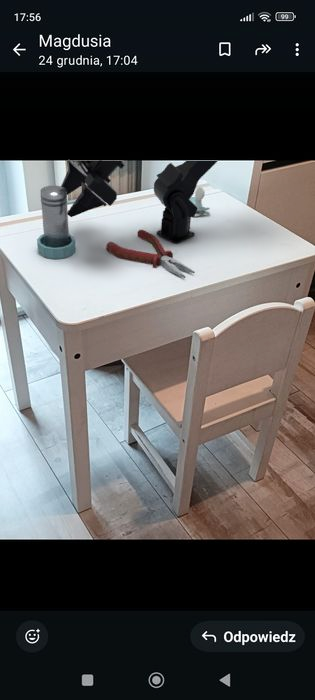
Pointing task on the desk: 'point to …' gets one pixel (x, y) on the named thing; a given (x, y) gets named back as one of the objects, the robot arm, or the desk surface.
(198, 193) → the pacifier
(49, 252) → the ring collar
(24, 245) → the desk surface
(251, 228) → the desk surface
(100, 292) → the desk surface
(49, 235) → the piston
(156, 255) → the pliers
